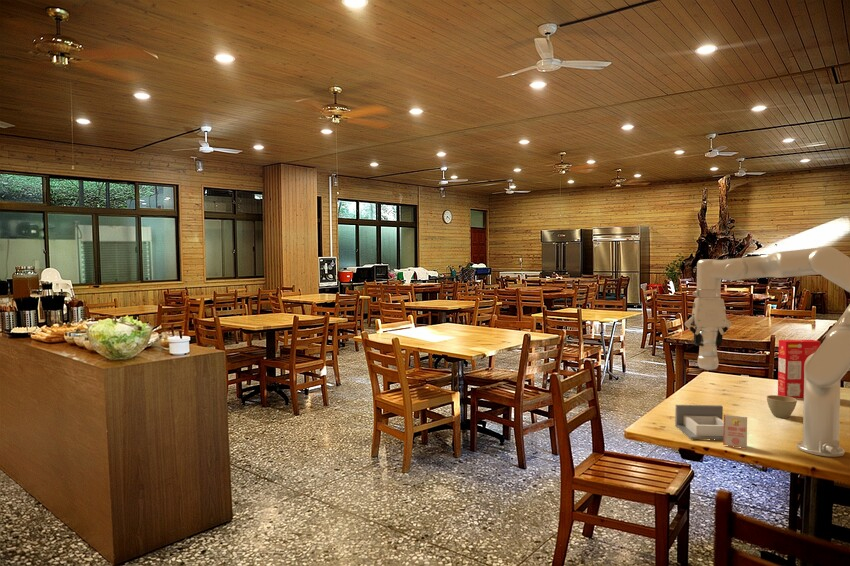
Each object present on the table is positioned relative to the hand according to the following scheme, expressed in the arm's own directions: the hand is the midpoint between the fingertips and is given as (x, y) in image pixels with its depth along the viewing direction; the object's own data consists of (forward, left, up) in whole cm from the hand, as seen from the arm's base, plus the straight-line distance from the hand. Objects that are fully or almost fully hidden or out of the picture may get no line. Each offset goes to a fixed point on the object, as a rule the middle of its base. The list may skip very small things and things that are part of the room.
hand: (708, 345), depth 201 cm
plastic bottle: (0, 0, -9) cm, 9 cm away
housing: (0, 0, -31) cm, 31 cm away
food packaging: (+56, -60, -32) cm, 88 cm away
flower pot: (+24, -37, -32) cm, 54 cm away
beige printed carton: (-13, -4, -32) cm, 34 cm away
